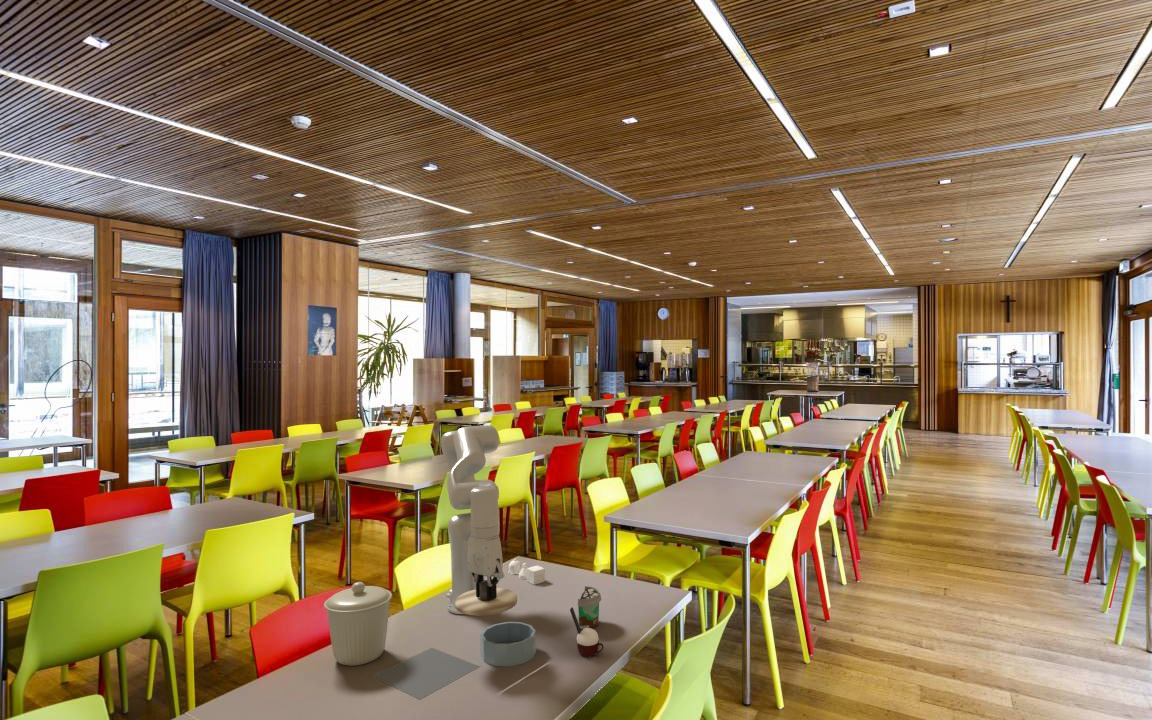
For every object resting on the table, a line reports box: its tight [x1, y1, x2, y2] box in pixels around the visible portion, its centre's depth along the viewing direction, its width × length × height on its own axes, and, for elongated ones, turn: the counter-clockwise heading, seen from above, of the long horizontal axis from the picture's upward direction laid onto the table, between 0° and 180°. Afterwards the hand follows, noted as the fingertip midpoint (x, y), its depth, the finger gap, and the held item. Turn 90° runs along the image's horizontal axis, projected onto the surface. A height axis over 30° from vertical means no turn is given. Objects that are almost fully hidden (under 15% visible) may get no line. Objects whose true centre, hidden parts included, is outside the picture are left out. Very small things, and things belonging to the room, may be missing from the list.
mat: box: [371, 647, 481, 701], centre depth 161 cm, size 20×20×1 cm
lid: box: [455, 579, 518, 616], centre depth 168 cm, size 17×17×6 cm
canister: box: [323, 581, 393, 667], centre depth 171 cm, size 18×18×21 cm
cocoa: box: [569, 607, 605, 658], centre depth 170 cm, size 10×6×12 cm, turn 46°
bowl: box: [479, 621, 537, 667], centre depth 170 cm, size 15×15×6 cm
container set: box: [508, 558, 546, 585], centre depth 235 cm, size 20×5×6 cm, turn 37°
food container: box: [577, 585, 602, 631], centre depth 189 cm, size 12×6×10 cm, turn 168°
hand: (486, 597), depth 168 cm, fingers closed on lid, 3 cm apart
